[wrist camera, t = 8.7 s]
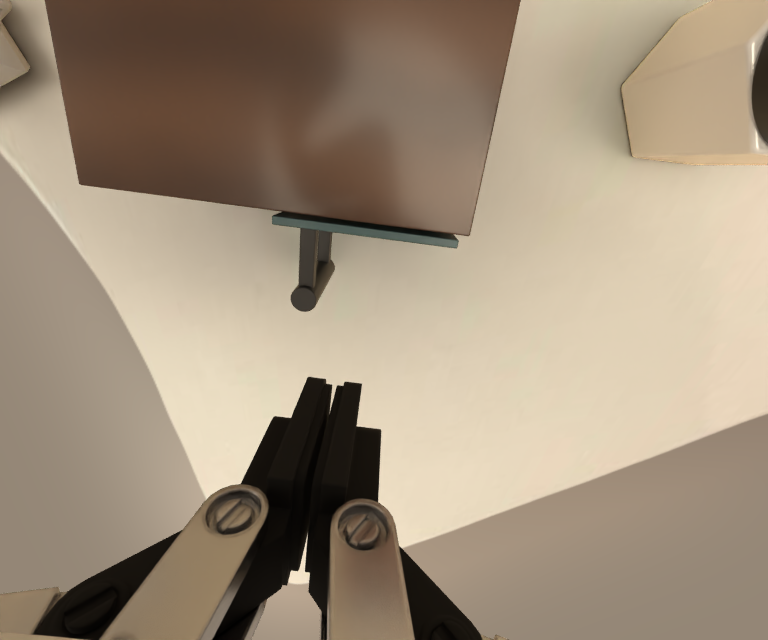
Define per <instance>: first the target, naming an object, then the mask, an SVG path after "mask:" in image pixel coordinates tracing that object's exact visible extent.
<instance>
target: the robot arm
mask: <svg viewBox="0 0 768 640" xmlns="http://www.w3.org/2000/svg"><path fill="white" fill-rule="evenodd" d="M361 387H362V384H359V383H351V382H345V383H344V386H338V385H337V388H336V392H335V396H334V400H333V403H332V407H331V411H330V403H331V393H332V385H330V384H326V379H320V378H313V377H308V378H307V380H306V383H305V385H304V388H303V390H302V393H301V395H300V398H299V400H298V402H297V405H296V407H295V410H294V412H293V415H292V417H291V418H285V417H277V416H275V417H273V419H272V421H271V423H270V425H269V427H268V429H267V431H266V433H265V435H264V437H263V439H262V441H261V443H260V445H259V447H258V449H257V452H256V454H255V456H254V458H253V460H252V462H251V464H250V466H249V468H248V470H247V472H246V474H245V476H244V478H243V480H242V483H241V484H238V485H231V486H228V487H225V488H222V489H220V490H218V491H217V492H215V493H214V494H212V495H211V496H210V497H209V498H208V499H207V500H206V501H205V502H204V503H203V504H202V505H201V507H200V508H199V509H198V511H197V512H196V513H195V515H194V516H193V517H192V519H191V520H190V521H189V522H188V524H187V525H186V526H185V528H184V529H183V530H181V531H180V532H177V533H176V534H174V535H172V536H170V537H168V538H166V539H164V540H162V541H160V542H158V543H156V544H154V545H152V546H150V547H148V548H146V549H145V550H143V551H141V552H139V553H137V554H135V555H133V556H131V557H129V558H127V559H125V560H123V561H121V562H119V563H118V564H116V565H114V566H112V567H110V568H108V569H106V570H104V571H102V572H100V573H98V574H96V575H95V576H92V577H91V578H88V579H87V580H85V581H83V582H82V583H80V584H78V585H77V586H76V587H74V588H72V589H71V590H69V591H67V592H60V591H59V588H58V587H53V588H45V589H36V590H28V591H20V592H12V593H4V594H0V640H251V639H252V637H253V635H254V632H255V630H256V628H257V625H258V623H259V621H260V618H261V616H262V614H263V611H264V608H265V604H266V601H267V599H268V598H269V597H270V596H272V595H273V594H274V593H276V592H277V591H278V590H280V589H281V587H282V585H287V583H288V579H289V576H290V572H291V570H293V571H298V570H299V568H300V564H301V559H302V555H303V551H304V547H305V542H306V538H307V534H308V540H307V552H306V565H305V572H310V580H309V593H310V595H311V596H312V598H313V599H314V601H315V602H316V603H317V605H318V607H319V608H320V609H321V615H320V640H509V639H506V638H503V637H501V636H498V635H495V637H494V639H491V638H488V637H486V636H483V635H481V634H480V633H479V632H478V631H477V629H476V628H475V627H474V625H473V624H472V622H471V621H470V620H469V619H468V618H467V617H466V616H465V615H464V614H463V613H462V612H461V611H460V610H459V609H458V608H457V606H456V605H454V604H453V602H452V601H451V600H450V599H449V598H448V597H447V596H446V595H445V594H444V593H443V592H442V591H441V590H440V588H439V587H438V586H436V584H435V583H434V582H433V581H432V580H431V579H430V578H429V577H428V576H427V575H426V574H425V573H424V572H423V570H422V569H420V567H419V566H418V565H417V564H416V563H415V562H414V561H413V560H412V559H411V558H410V557H409V556H408V555H407V554H406V552H404V550H403V549H402V548H401V547H400V546H399V543H398V538H397V532H396V526H395V523H394V520H393V517H392V515H391V514H390V512H389V511H388V510H387V509H386V508H385V507H384V506H382V505H381V504H380V503H378V490H379V468H380V446H381V429H373V428H365V427H357V426H356V425H357V417H358V410H359V402H360V395H361ZM329 413H330V415H329Z"/></svg>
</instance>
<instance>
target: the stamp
mask: <svg viewBox="0 0 768 640" xmlns="http://www.w3.org/2000/svg"><path fill="white" fill-rule="evenodd" d="M11 9H12V5H11V2H10V0H0V87H1V86H3V85H5V84H7V83H8V82H10V81H12V80H14V79H16V78H17V77H19V76H21V75H23V74H25V73H26V72H27V71H29V69H30V68H31V67H30V66H29V64H28V62H27V61H26V59H25V58H24V56H23V55H22V53H21V51H20V50H19V48H18V47H17V45H16V44H15V42H14V40H13V39H12V37H11V36H10V34H9V33H8V31H7V29H6V28H5V26H4V25H3V23H2V22H1V20H2V19H3V18H4V17H5V16H6V15H7V14H8V13H9V12H10V11H11Z"/></svg>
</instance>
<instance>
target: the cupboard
mask: <svg viewBox="0 0 768 640" xmlns="http://www.w3.org/2000/svg"><path fill="white" fill-rule="evenodd" d="M520 1H521V0H45V4H46V9H47V14H48V20H49V25H50V30H51V36H52V41H53V46H54V52H55V57H56V62H57V68H58V73H59V78H60V84H61V89H62V94H63V100H64V105H65V110H66V116H67V121H68V126H69V132H70V137H71V142H72V148H73V153H74V158H75V164H76V169H77V174H78V180H79V184H81V185H86V186H94V187H101V188H109V189H116V190H124V191H131V192H139V193H146V194H154V195H162V196H169V197H177V198H184V199H192V200H199V201H207V202H214V203H222V204H229V205H237V206H245V207H252V208H260V209H267V210H275V211H282V212H290V213H297V214H305V215H313V216H320V217H328V218H335V219H343V220H350V221H358V222H365V223H373V224H381V225H388V226H396V227H403V228H411V229H418V230H426V231H433V232H441V233H449V234H456V235H464V236H469V235H470V232H471V227H472V223H473V218H474V213H475V209H476V204H477V200H478V195H479V190H480V186H481V181H482V177H483V172H484V167H485V163H486V158H487V153H488V149H489V144H490V140H491V135H492V130H493V126H494V121H495V116H496V112H497V107H498V103H499V98H500V93H501V89H502V84H503V79H504V75H505V70H506V66H507V61H508V56H509V52H510V47H511V43H512V38H513V33H514V29H515V24H516V19H517V15H518V10H519V6H520Z"/></svg>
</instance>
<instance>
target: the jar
mask: <svg viewBox="0 0 768 640" xmlns="http://www.w3.org/2000/svg"><path fill="white" fill-rule="evenodd" d="M621 91H622V97H623V103H624V110H625V116H626V122H627V128H628V135H629V141H630V147H631V153H632V156H633V157H635V158H643V159H651V160H659V161H666V162H674V163H682V164H690V165H768V0H713V1H711V2H709V3H707V4H705V5H703V6H701V7H699V8H697V9H695V10H693V11H691V12H689V13H687V14H685V15H683V16H682V17H680V18H679V19H678V20H677V21H676V23H675V24H674V25H673V26H672V27H671V28H670V30H669V31H668V32H667V33H666V34H665V35H664V37H663V38H662V39H661V40H660V41H659V42H658V44H657V45H656V46H655V47H654V48H653V50H652V51H651V52H650V53H649V54H648V55H647V57H646V58H645V59H644V60H643V61H642V62H641V64H640V65H639V66H638V67H637V68H636V69H635V71H634V72H633V73H632V74H631V75H630V76H629V78H628V79H627V80H626V81H625V82H624V83H623V85H622V87H621Z"/></svg>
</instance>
